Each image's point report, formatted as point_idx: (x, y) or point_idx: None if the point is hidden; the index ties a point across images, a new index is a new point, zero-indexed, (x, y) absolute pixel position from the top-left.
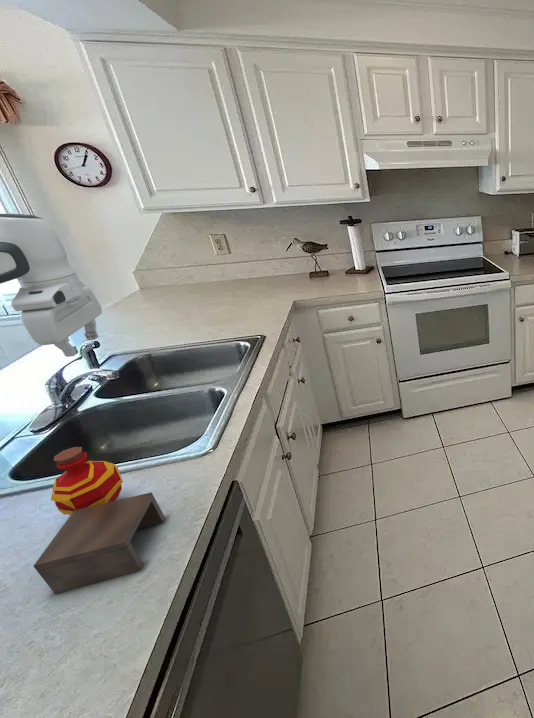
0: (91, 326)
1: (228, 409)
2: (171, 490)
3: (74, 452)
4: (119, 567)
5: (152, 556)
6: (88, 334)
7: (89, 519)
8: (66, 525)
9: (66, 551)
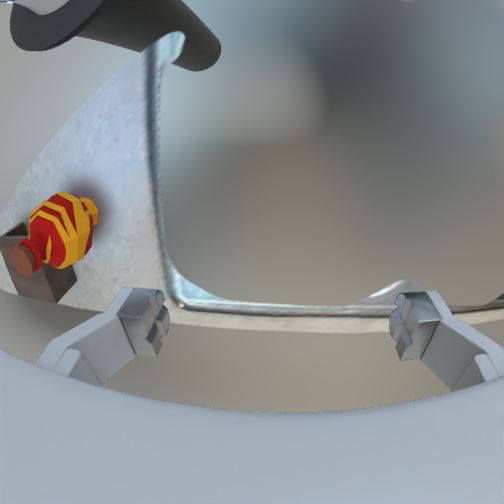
0: (451, 372)
1: (301, 309)
2: (110, 276)
3: (24, 269)
4: None
5: None
6: (409, 332)
7: None
8: (19, 242)
9: (6, 257)
